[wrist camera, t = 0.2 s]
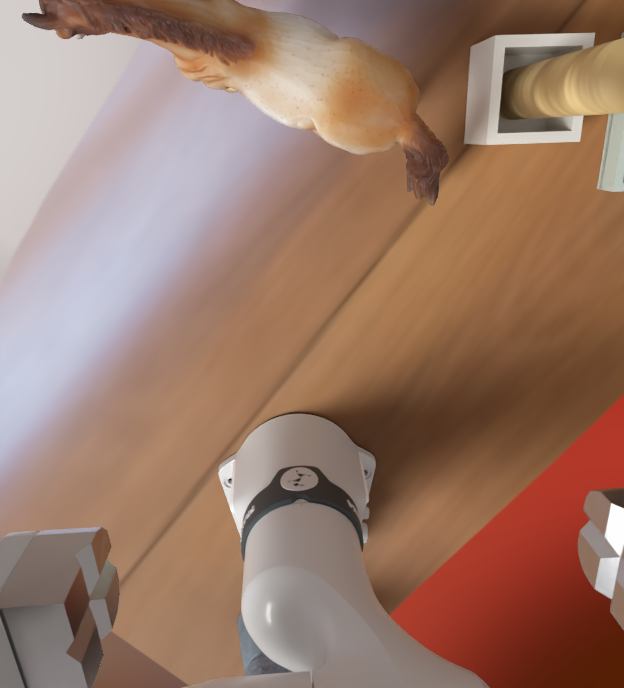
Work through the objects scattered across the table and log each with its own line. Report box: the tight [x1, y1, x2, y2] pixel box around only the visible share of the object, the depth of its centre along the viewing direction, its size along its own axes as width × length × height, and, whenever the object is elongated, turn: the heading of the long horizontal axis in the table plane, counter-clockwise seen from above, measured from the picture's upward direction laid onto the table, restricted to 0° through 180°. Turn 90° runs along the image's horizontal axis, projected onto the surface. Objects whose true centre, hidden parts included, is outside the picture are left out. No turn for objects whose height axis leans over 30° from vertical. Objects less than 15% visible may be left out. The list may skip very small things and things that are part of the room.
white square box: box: [464, 33, 595, 145], centre depth 48 cm, size 8×8×6 cm
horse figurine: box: [22, 0, 448, 206], centre depth 40 cm, size 31×8×21 cm, turn 67°
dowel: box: [499, 38, 624, 120], centre depth 42 cm, size 4×4×18 cm
